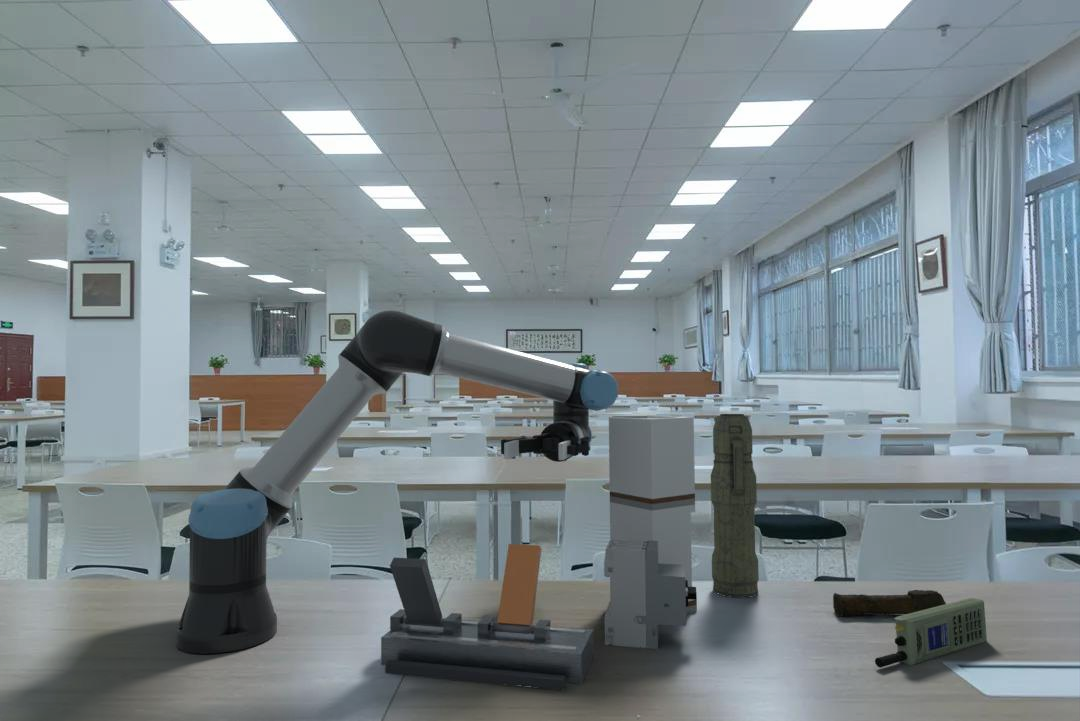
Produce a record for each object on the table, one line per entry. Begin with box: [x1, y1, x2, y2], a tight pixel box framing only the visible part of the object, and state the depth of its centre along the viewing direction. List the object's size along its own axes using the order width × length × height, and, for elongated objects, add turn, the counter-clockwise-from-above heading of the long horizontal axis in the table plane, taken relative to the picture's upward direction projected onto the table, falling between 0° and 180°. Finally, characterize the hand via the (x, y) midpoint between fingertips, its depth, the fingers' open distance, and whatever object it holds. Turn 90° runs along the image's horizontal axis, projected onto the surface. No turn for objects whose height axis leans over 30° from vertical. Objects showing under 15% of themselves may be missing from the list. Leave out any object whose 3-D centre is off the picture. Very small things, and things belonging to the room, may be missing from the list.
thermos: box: [710, 413, 760, 599], centre depth 139 cm, size 9×12×35 cm
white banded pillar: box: [608, 415, 698, 615], centre depth 129 cm, size 11×11×35 cm
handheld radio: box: [874, 597, 988, 668], centre depth 106 cm, size 7×3×25 cm
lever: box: [492, 543, 542, 634], centre depth 107 cm, size 6×2×13 cm
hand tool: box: [832, 589, 947, 618], centre depth 123 cm, size 19×4×5 cm, turn 83°
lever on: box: [389, 557, 444, 627], centre depth 104 cm, size 6×2×13 cm
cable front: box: [384, 660, 566, 691], centre depth 97 cm, size 26×1×1 cm, turn 76°
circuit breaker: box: [603, 538, 698, 649], centre depth 113 cm, size 8×14×15 cm, turn 78°
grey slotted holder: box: [380, 608, 594, 684], centre depth 104 cm, size 30×10×6 cm, turn 76°
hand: (533, 451), depth 116 cm, fingers open, 9 cm apart
